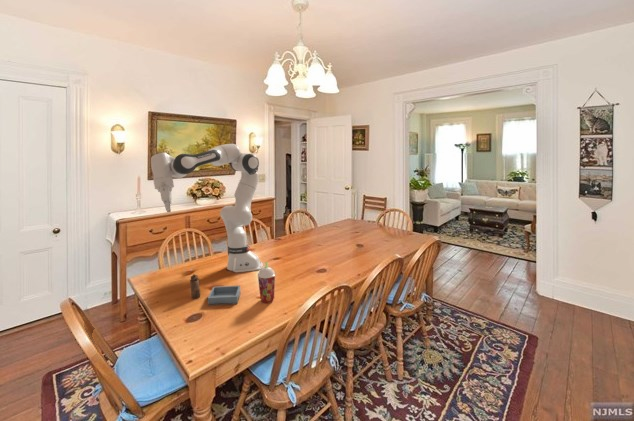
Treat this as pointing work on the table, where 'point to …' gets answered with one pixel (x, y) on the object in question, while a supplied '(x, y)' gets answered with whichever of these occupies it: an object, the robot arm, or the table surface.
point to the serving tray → (224, 295)
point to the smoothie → (266, 284)
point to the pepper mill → (194, 287)
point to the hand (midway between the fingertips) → (168, 211)
